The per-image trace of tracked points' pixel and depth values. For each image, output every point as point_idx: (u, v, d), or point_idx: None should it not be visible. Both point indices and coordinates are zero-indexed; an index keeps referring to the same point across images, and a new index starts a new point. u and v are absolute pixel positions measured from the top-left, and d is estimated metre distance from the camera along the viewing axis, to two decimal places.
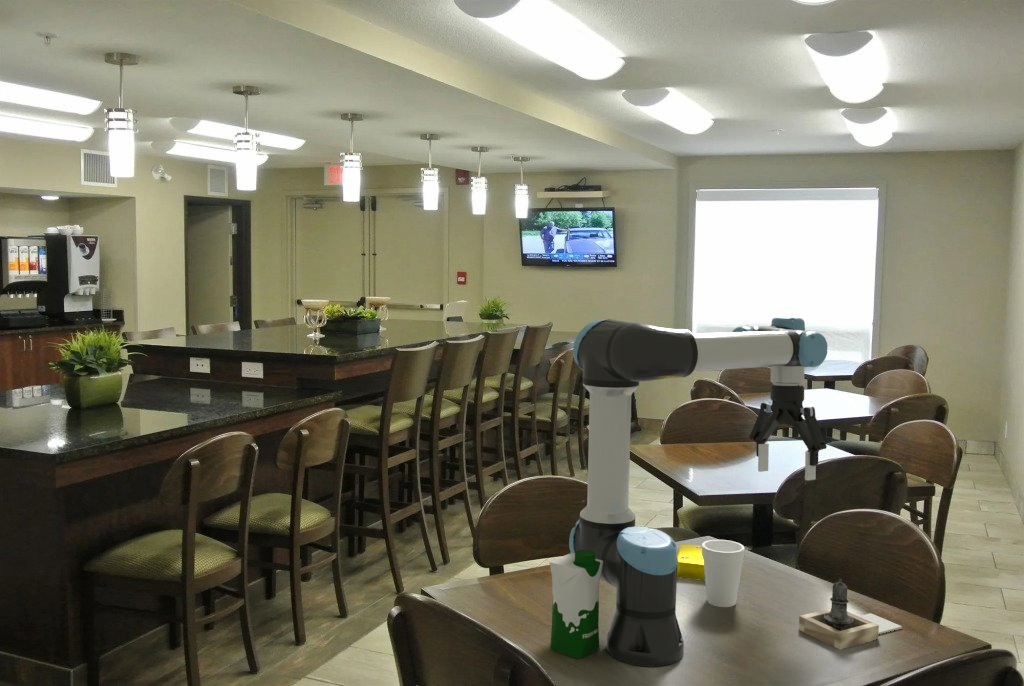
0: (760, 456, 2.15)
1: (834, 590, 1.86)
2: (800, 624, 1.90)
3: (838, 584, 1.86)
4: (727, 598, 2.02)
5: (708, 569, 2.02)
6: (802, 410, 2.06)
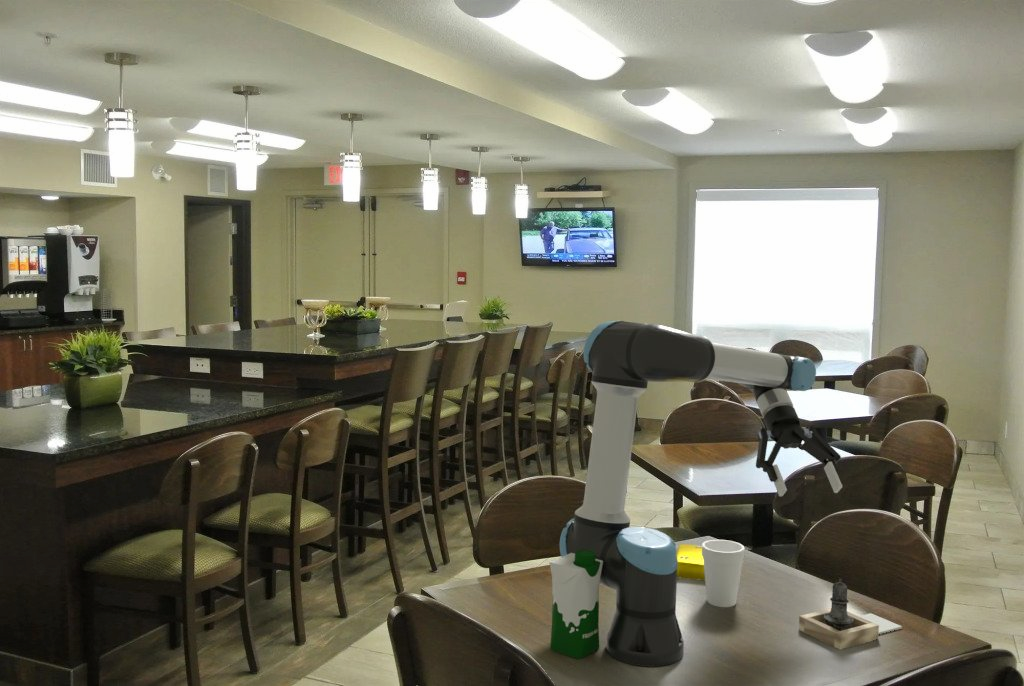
0: (780, 475, 1.99)
1: (834, 590, 1.86)
2: (800, 624, 1.90)
3: (838, 584, 1.86)
4: (727, 598, 2.02)
5: (708, 569, 2.02)
6: (805, 431, 2.10)
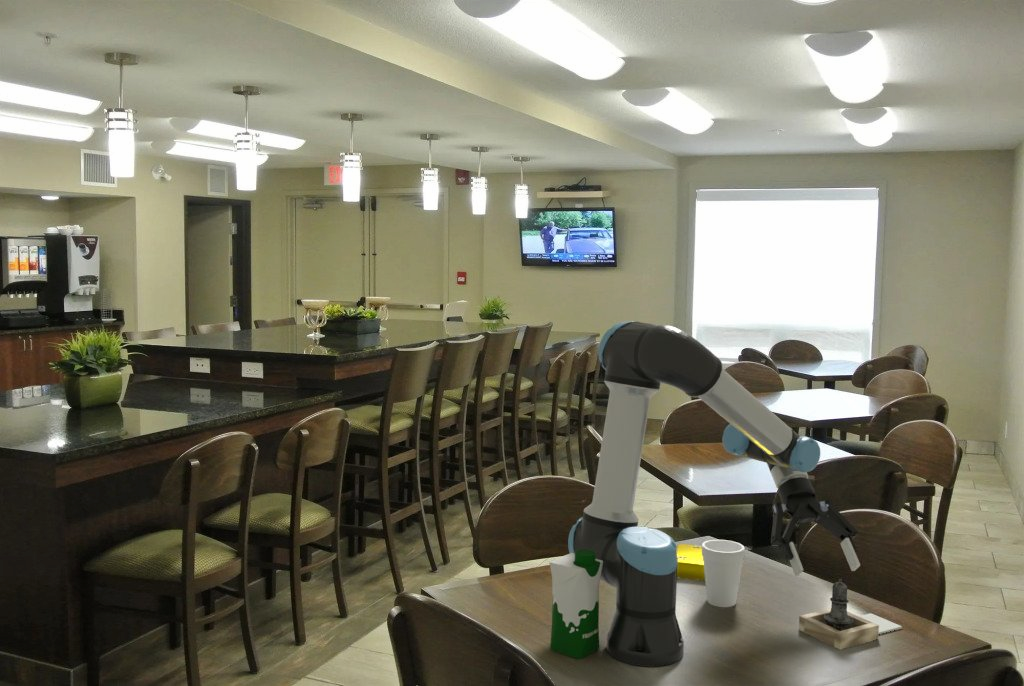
0: (796, 554, 1.93)
1: (834, 590, 1.86)
2: (800, 624, 1.90)
3: (838, 584, 1.86)
4: (727, 598, 2.02)
5: (708, 569, 2.02)
6: (821, 504, 2.04)
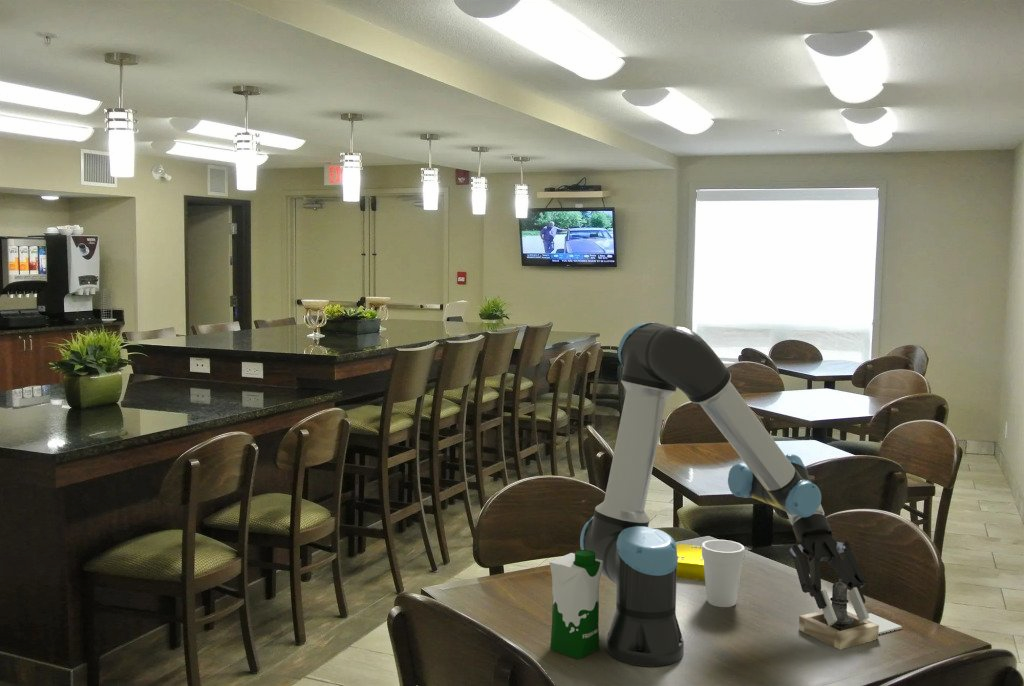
0: (829, 603, 1.84)
1: (834, 590, 1.86)
2: (800, 624, 1.90)
3: (838, 584, 1.86)
4: (727, 598, 2.02)
5: (708, 569, 2.02)
6: (838, 544, 1.95)
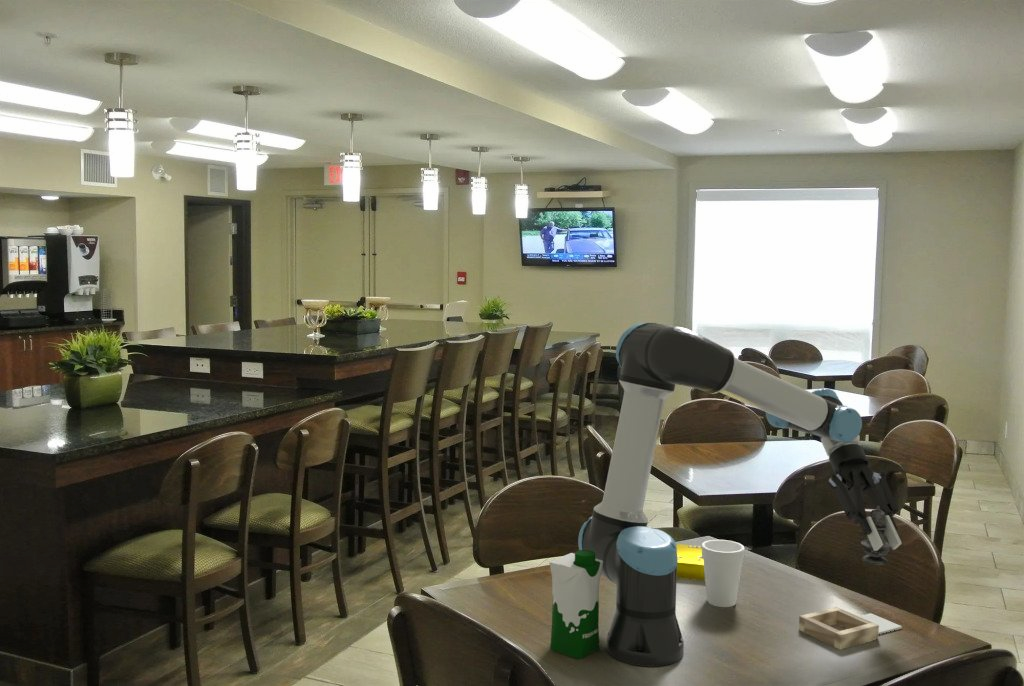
0: (875, 529, 1.88)
1: (872, 517, 1.90)
2: (800, 624, 1.90)
3: (876, 511, 1.90)
4: (727, 598, 2.02)
5: (708, 569, 2.02)
6: (875, 474, 1.98)
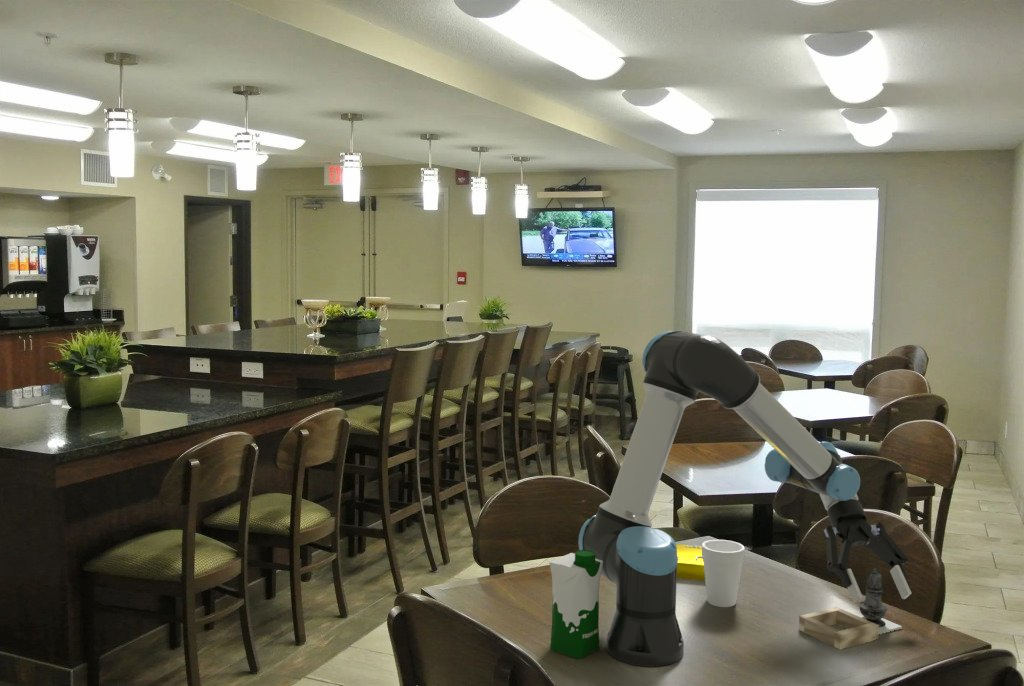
0: (855, 581, 1.89)
1: (869, 579, 1.92)
2: (800, 624, 1.90)
3: (873, 573, 1.91)
4: (727, 598, 2.02)
5: (708, 569, 2.02)
6: (872, 527, 2.00)
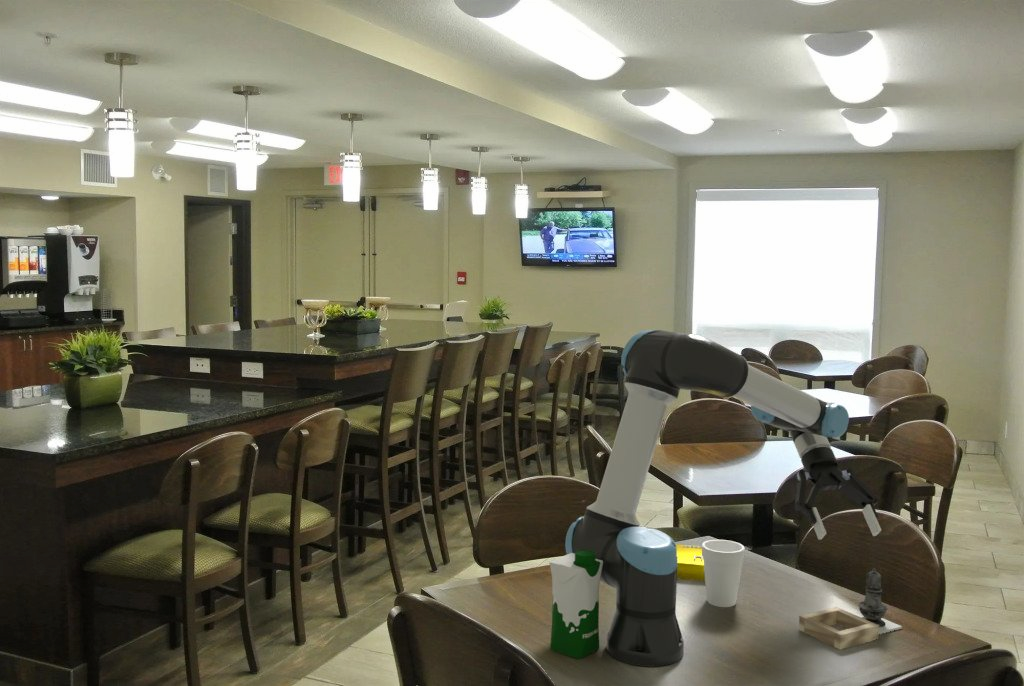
0: (819, 519, 2.01)
1: (868, 579, 1.92)
2: (800, 624, 1.90)
3: (872, 573, 1.92)
4: (727, 598, 2.02)
5: (708, 569, 2.02)
6: (843, 472, 2.11)
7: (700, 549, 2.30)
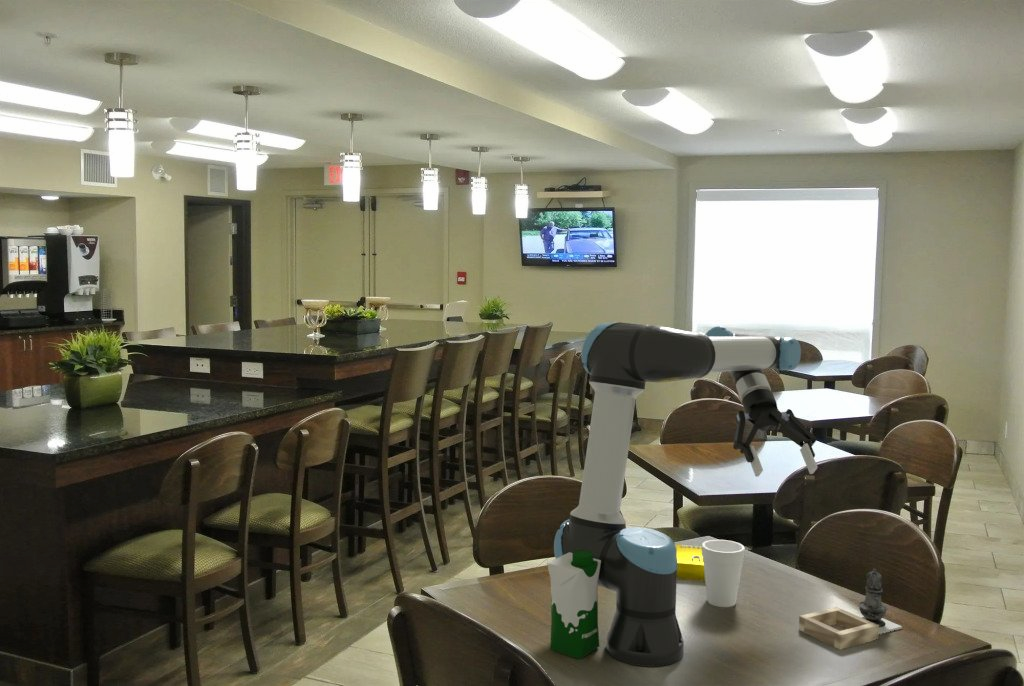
0: (757, 456, 2.04)
1: (868, 579, 1.92)
2: (800, 624, 1.90)
3: (872, 573, 1.91)
4: (727, 598, 2.02)
5: (708, 569, 2.02)
6: (783, 414, 2.15)
7: (698, 549, 2.30)
